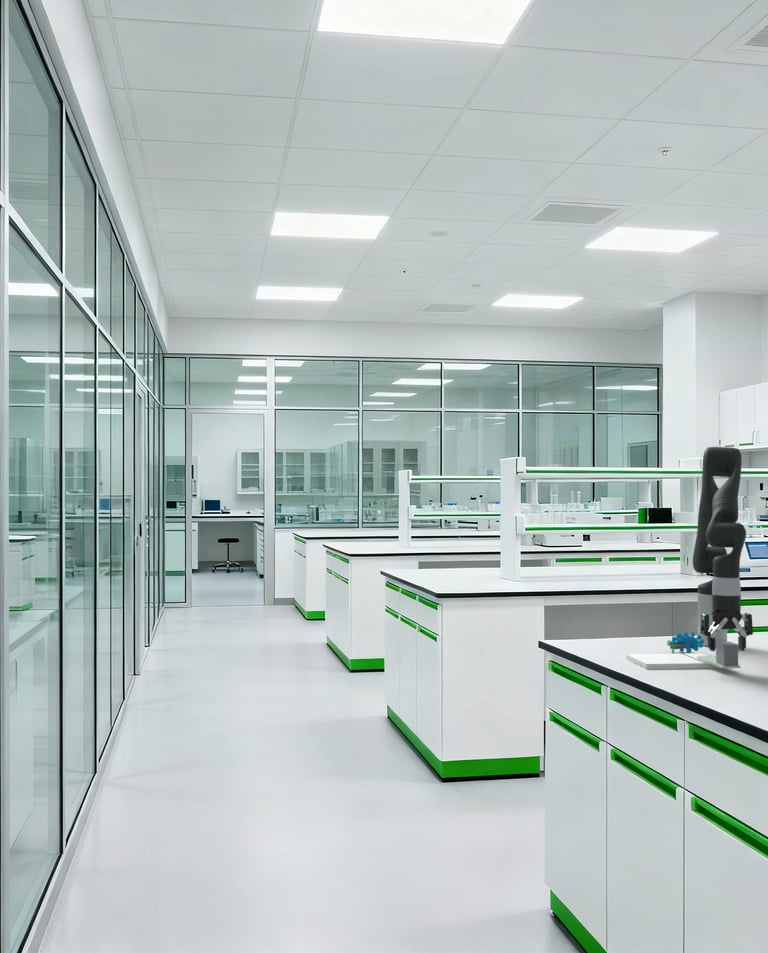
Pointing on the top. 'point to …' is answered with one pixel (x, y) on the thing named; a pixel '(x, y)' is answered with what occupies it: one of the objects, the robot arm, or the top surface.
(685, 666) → the ticket board
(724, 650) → the stub
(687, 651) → the gear
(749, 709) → the top surface
